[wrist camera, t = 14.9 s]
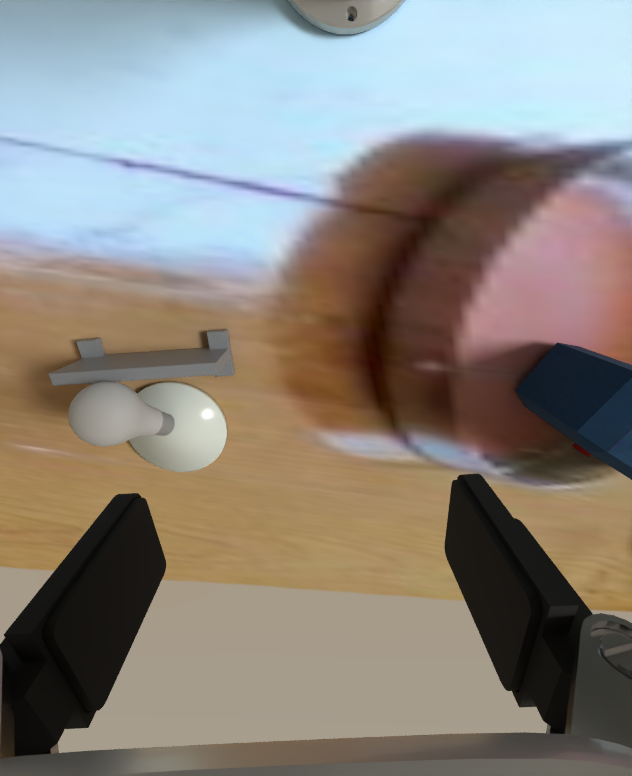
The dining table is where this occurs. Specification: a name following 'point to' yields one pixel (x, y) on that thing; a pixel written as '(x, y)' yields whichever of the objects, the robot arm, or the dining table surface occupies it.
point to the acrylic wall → (147, 363)
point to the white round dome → (183, 428)
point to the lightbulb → (115, 415)
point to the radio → (585, 402)
